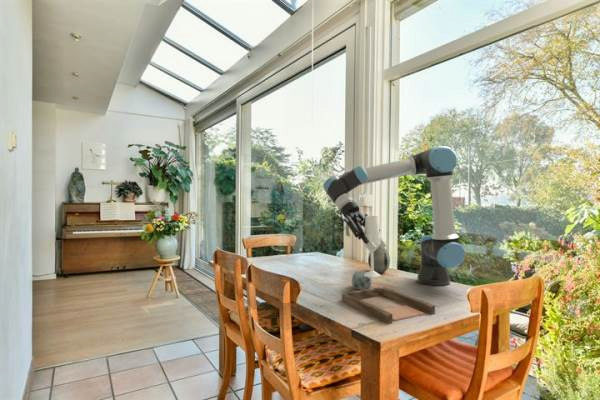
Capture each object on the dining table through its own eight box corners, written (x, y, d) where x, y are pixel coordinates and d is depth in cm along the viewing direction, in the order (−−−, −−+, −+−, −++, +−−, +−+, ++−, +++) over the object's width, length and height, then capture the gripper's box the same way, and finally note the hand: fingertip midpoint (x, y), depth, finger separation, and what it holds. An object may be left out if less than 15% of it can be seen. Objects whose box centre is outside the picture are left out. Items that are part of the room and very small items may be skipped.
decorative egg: (363, 272, 197) (363, 245, 197) (380, 269, 202) (380, 243, 201) (376, 276, 186) (376, 248, 186) (394, 274, 191) (394, 246, 191)
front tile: (405, 306, 137) (405, 305, 137) (424, 314, 128) (424, 313, 128) (376, 312, 130) (376, 310, 130) (394, 320, 122) (394, 319, 122)
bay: (382, 293, 155) (382, 286, 155) (434, 313, 129) (434, 305, 129) (340, 300, 145) (340, 293, 145) (387, 323, 119) (387, 315, 119)
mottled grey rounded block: (375, 287, 153) (365, 265, 156) (356, 296, 154) (345, 275, 157) (376, 286, 166) (367, 267, 169) (358, 295, 167) (349, 275, 170)
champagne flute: (362, 273, 147) (362, 215, 146) (379, 273, 147) (378, 215, 146) (365, 277, 140) (364, 216, 140) (382, 277, 140) (381, 216, 139)
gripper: (357, 211, 161) (388, 250, 149) (327, 213, 148) (358, 257, 136) (366, 199, 157) (398, 239, 145) (336, 200, 144) (369, 244, 132)
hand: (379, 247), depth 140 cm, fingers closed on champagne flute, 7 cm apart
